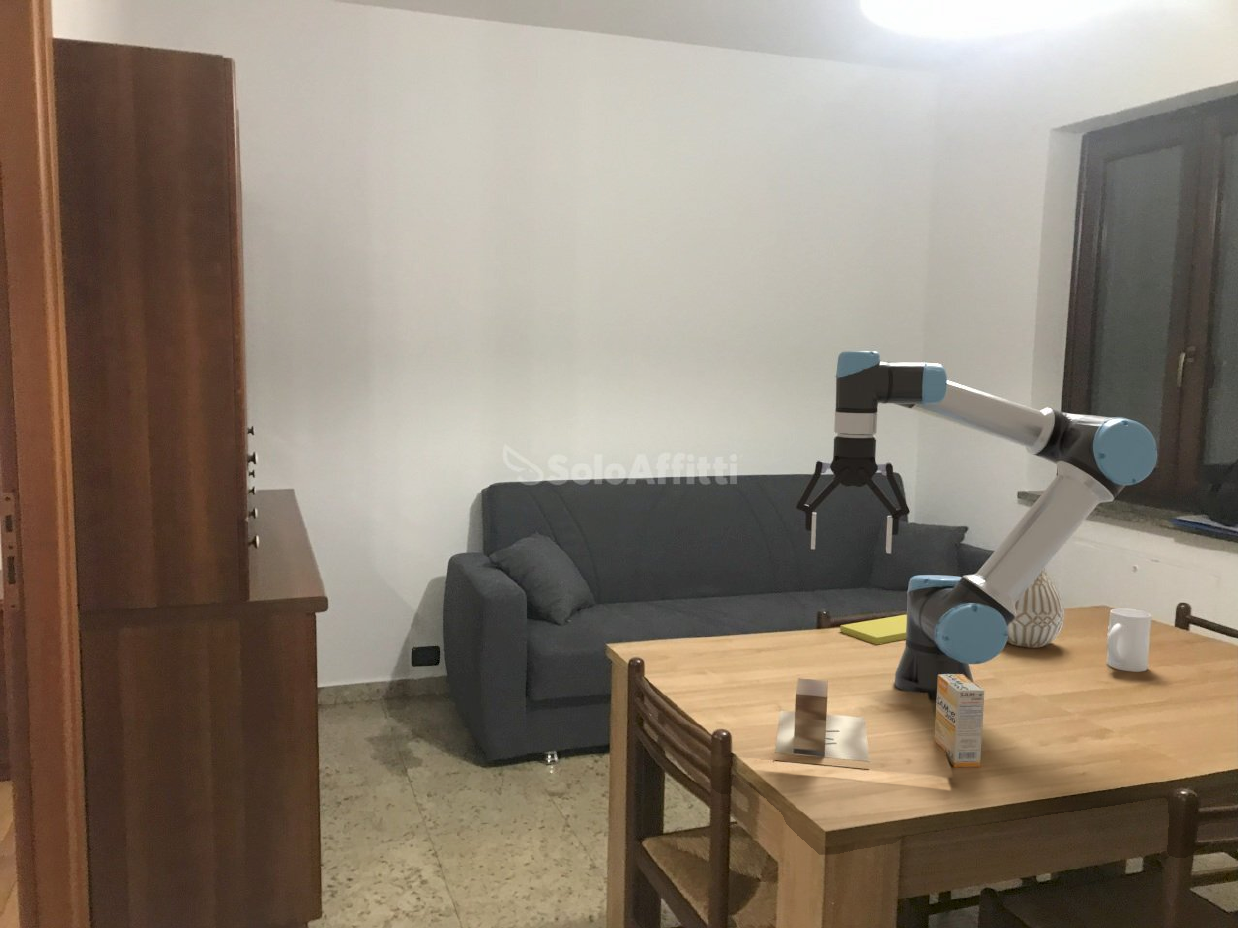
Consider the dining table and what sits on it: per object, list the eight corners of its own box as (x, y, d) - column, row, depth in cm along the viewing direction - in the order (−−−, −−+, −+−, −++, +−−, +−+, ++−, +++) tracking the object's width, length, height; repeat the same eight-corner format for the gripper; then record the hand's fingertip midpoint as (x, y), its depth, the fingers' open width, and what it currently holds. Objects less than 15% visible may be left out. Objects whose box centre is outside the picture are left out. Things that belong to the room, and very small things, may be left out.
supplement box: (932, 747, 167) (936, 673, 165) (959, 747, 167) (963, 673, 166) (952, 767, 158) (957, 689, 157) (981, 767, 159) (985, 689, 157)
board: (864, 725, 176) (864, 717, 176) (868, 770, 157) (869, 760, 157) (780, 718, 179) (780, 709, 179) (774, 760, 160) (775, 751, 160)
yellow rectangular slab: (876, 646, 228) (947, 633, 240) (876, 637, 228) (947, 624, 240) (840, 634, 239) (909, 622, 251) (840, 625, 238) (910, 613, 251)
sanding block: (825, 737, 166) (827, 680, 165) (824, 756, 158) (827, 696, 157) (795, 734, 167) (797, 678, 166) (793, 752, 160) (795, 693, 158)
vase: (1074, 653, 224) (1079, 567, 221) (1004, 652, 224) (1009, 566, 222) (1045, 634, 239) (1050, 553, 237) (979, 632, 240) (984, 552, 238)
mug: (1088, 667, 213) (1092, 613, 212) (1117, 658, 220) (1120, 606, 219) (1126, 677, 207) (1130, 621, 205) (1154, 667, 214) (1158, 614, 212)
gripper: (924, 436, 180) (918, 549, 182) (786, 432, 185) (783, 542, 187) (928, 439, 172) (922, 557, 175) (785, 435, 177) (781, 549, 180)
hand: (850, 550), depth 181 cm, fingers open, 13 cm apart
